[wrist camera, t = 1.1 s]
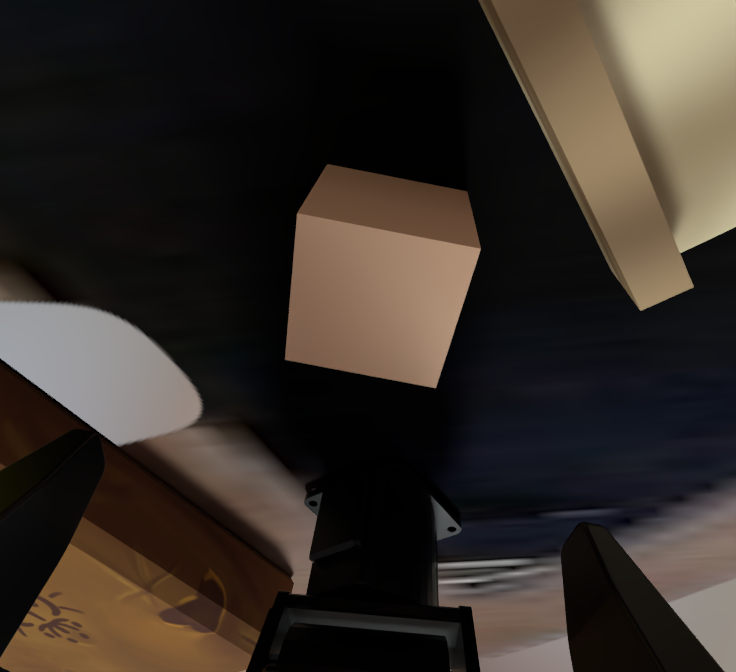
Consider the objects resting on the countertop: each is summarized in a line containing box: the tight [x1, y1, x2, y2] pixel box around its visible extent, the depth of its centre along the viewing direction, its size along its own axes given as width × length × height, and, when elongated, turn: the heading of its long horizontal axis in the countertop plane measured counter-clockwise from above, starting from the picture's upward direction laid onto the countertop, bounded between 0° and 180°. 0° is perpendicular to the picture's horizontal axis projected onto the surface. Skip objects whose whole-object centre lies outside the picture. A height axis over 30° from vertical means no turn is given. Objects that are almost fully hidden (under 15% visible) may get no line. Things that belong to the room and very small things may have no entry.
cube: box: [285, 164, 481, 388], centre depth 16 cm, size 5×5×5 cm
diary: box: [0, 358, 294, 672], centre depth 29 cm, size 23×19×6 cm
